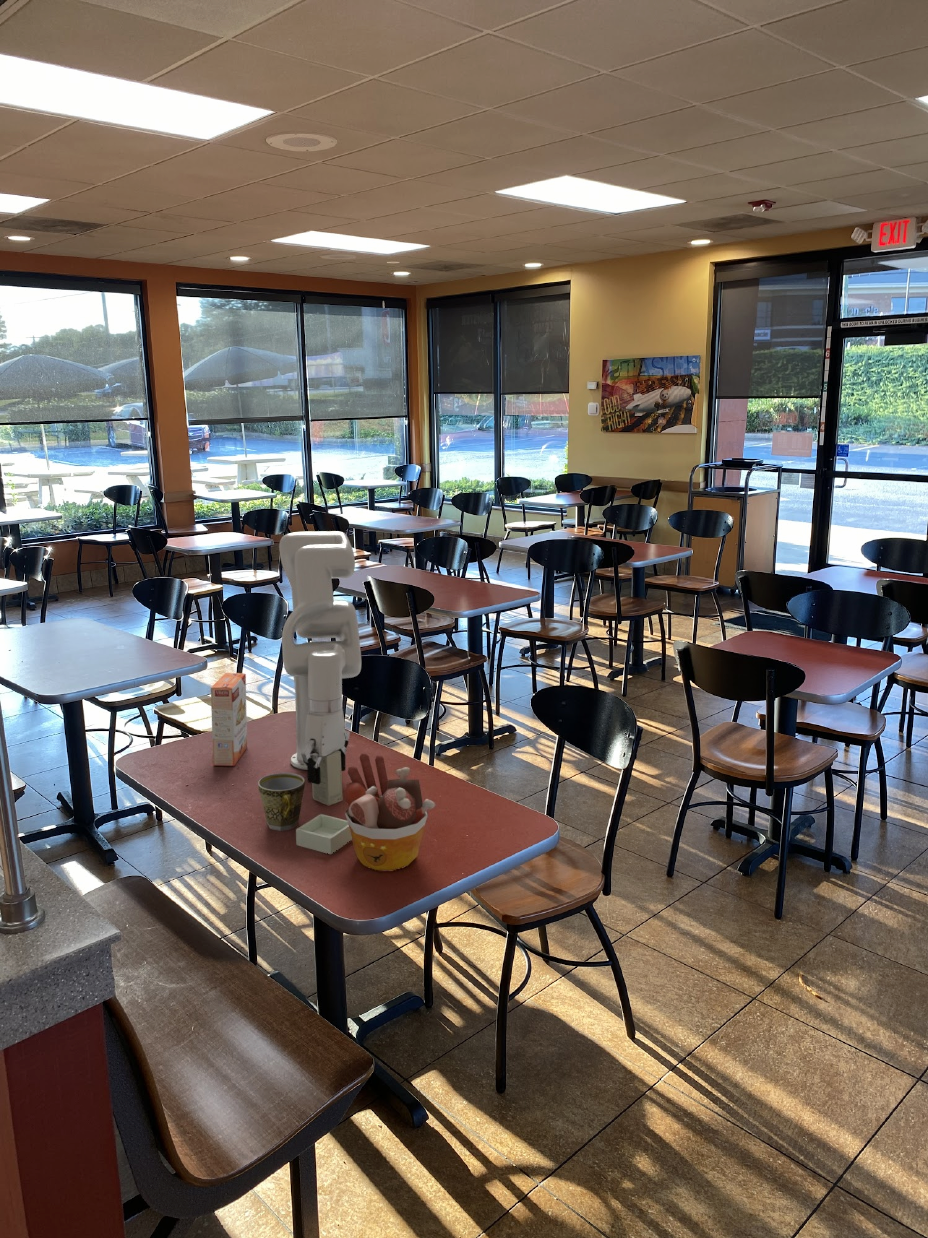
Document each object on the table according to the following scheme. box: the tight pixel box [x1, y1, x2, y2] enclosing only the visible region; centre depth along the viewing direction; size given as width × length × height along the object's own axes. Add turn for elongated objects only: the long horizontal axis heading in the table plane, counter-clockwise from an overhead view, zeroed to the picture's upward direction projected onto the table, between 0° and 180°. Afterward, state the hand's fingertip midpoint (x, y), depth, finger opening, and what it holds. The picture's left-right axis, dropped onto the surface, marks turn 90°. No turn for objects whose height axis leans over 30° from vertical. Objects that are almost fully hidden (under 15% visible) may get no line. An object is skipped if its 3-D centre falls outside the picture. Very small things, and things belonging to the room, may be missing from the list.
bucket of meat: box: [343, 752, 436, 871], centre depth 185 cm, size 20×16×20 cm
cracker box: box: [210, 672, 248, 767], centre depth 238 cm, size 14×6×21 cm, turn 179°
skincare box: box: [311, 750, 343, 806], centre depth 214 cm, size 6×4×12 cm
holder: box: [295, 813, 353, 855], centre depth 194 cm, size 9×9×4 cm
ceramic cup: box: [257, 772, 306, 832], centre depth 199 cm, size 13×10×10 cm
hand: (326, 776), depth 213 cm, fingers open, 9 cm apart
